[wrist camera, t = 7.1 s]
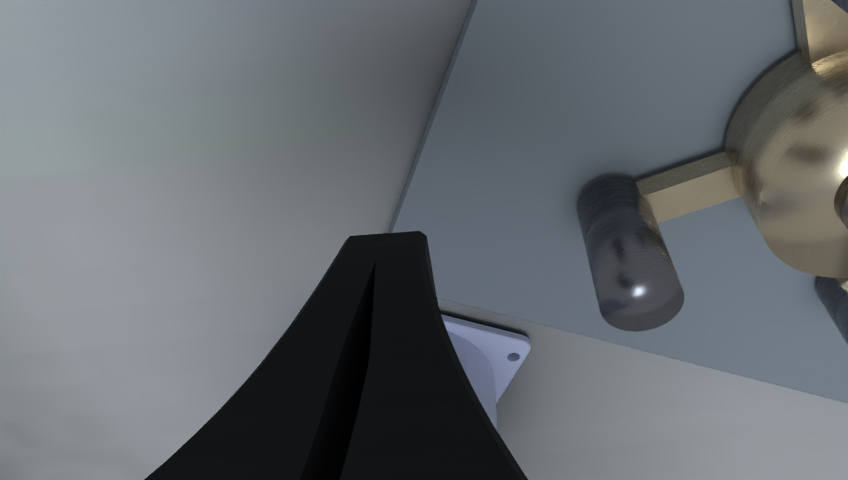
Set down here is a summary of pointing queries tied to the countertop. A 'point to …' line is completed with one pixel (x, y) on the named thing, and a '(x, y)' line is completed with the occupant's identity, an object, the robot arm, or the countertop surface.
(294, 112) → the countertop surface
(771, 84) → the capstan
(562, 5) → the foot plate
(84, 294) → the countertop surface
